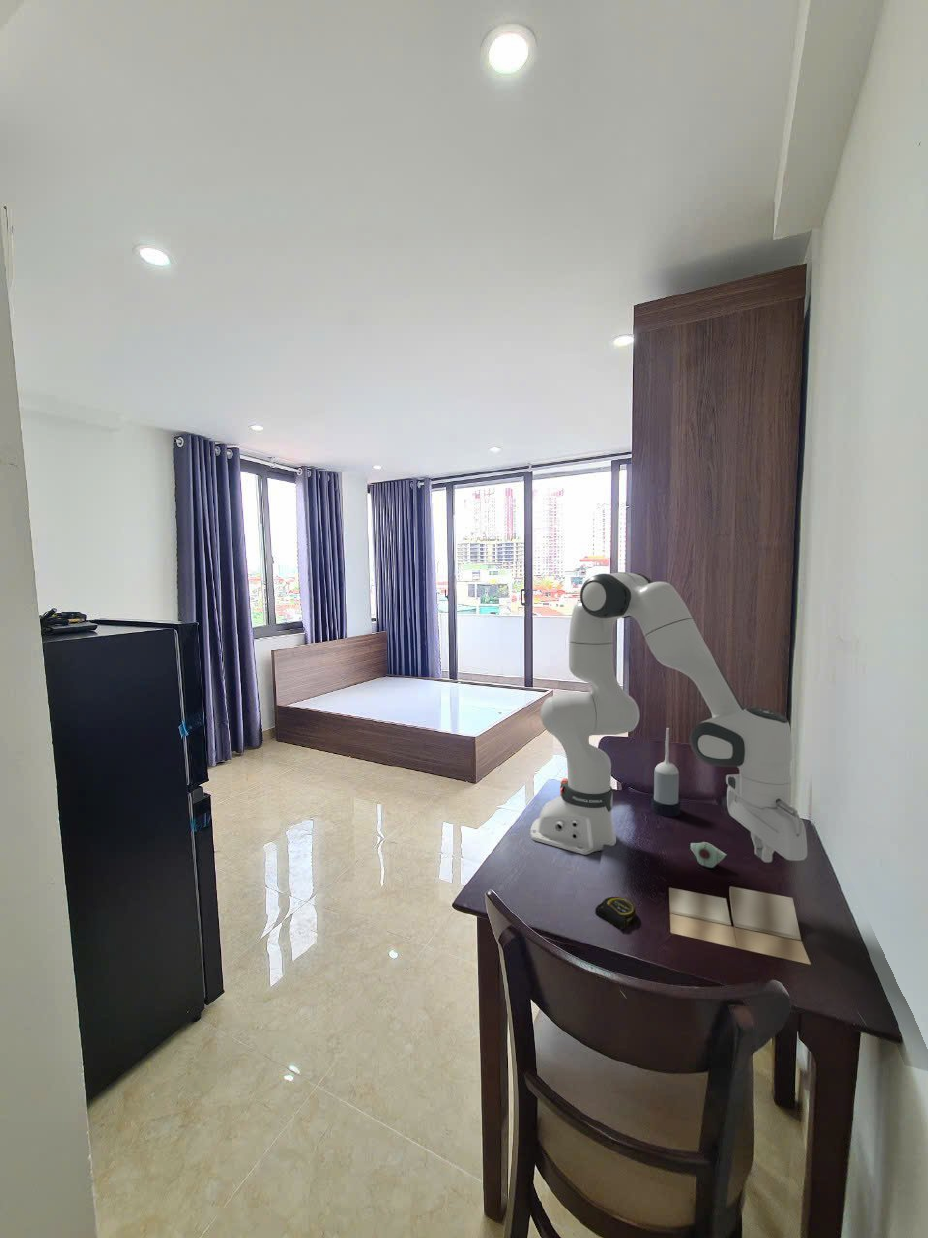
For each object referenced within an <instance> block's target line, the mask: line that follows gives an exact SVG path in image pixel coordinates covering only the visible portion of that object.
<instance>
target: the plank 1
mask: <svg viewBox="0 0 928 1238" xmlns="http://www.w3.org/2000/svg"><path fill="white" fill-rule="evenodd" d="M668 901H669V902H668V903H669V904H668V905H669V914H675V915H679V916H684V917H689V918H693V919H698V920H703V921H708V922H712V923H717V924H722V925H726V926H731V927H732V922H731V917H730V911H729V907H728V902H727V898H726V897H720V896H715V895H711V894H710V895H709V894H703V893H699V892H694V891H690V890H685V889H680V888H679V889H678V888H673V887H668Z"/></svg>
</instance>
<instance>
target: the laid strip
mask: <svg viewBox="0 0 928 1238" xmlns="http://www.w3.org/2000/svg"><path fill="white" fill-rule="evenodd" d="M669 927H670V930H669V931H670V934H674V935H678V936H682V937H687V938H691V939H696V940H701V941H705V942H709V943H713V944H716V945H717V944H718V945H722V946H726V947H731V948H735V949H739V950H744V951H748V952H752V953H757V954H761V955H766V956H769V957H774V958H779V959H783V960H787V961H793V962H797V963H802V964H806V965H809V966H810V965H812V964H811V961H810V959H809V956H808V954H807V951H806V949H805V947H804V944H803V941H802V940H801V941H800V940H795V939H791V938H786V937H781V936H777V935H772V934H767V933H763V932H758V931H753V930H749V929H744V928H739V927H735V926H732V925H731V926H729V925H725V924H720V923H715V922H711V921H706V920H701V919H697V918H692V917H687V916H683V915H678V914H673V913H669Z"/></svg>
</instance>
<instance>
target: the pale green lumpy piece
mask: <svg viewBox="0 0 928 1238" xmlns="http://www.w3.org/2000/svg"><path fill="white" fill-rule="evenodd" d="M690 850H691V851H692V853H693V854H694V856H695V857H696V860H697V863H698V864H699V865H701V866H703V867H705V868H711V869H712V868H715V867H716V866H717V864H719V863H720V862H721V861H723V860H724V859H725V857H726V856H727V855H728V853H727V854H726V853H725V852H724V851H722V850H720V849H719V848H717V847H716V846H714V845H713V844H711V843H709V842H705V841H702V842H691V843H690Z"/></svg>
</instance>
